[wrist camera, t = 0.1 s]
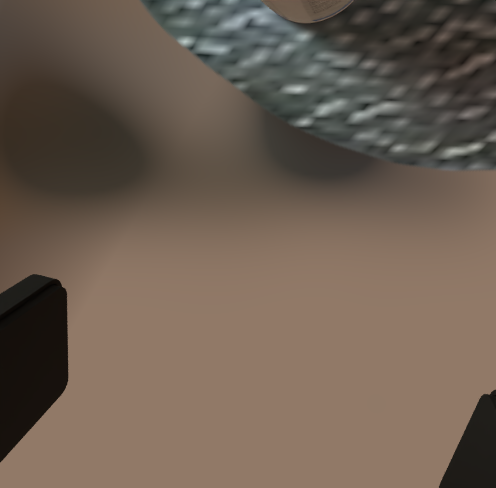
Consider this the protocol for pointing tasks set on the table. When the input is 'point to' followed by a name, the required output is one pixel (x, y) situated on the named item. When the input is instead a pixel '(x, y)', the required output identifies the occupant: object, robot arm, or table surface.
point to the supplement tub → (307, 9)
